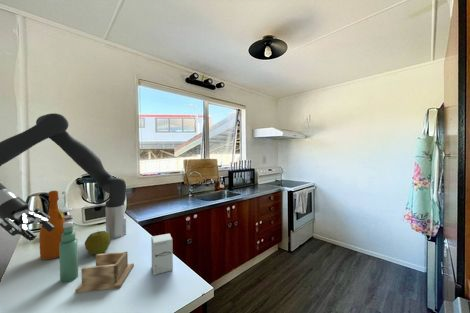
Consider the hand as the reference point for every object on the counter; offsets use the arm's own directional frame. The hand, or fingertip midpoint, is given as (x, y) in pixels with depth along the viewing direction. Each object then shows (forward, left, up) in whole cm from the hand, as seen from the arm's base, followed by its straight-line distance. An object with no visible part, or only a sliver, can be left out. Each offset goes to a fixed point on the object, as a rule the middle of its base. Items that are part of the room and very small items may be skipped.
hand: (43, 233), depth 74 cm
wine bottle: (-8, -22, -18) cm, 29 cm away
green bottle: (-5, +6, -17) cm, 19 cm away
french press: (-20, -53, -18) cm, 60 cm away
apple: (-20, -7, -18) cm, 28 cm away
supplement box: (-28, +30, -18) cm, 45 cm away
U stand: (-13, +18, -17) cm, 28 cm away
